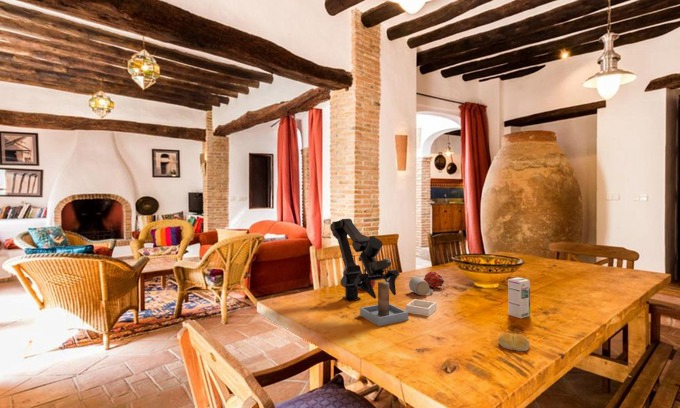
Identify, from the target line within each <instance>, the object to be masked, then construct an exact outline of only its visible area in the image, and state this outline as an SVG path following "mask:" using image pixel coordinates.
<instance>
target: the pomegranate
mask: <svg viewBox="0 0 680 408" xmlns="http://www.w3.org/2000/svg"><path fill="white" fill-rule="evenodd" d="M364 273H367V272H362V274H364ZM375 285H376V280H374V281H371V286H372V288H373V289H374V288H375ZM358 289H359V290H361V291H364V290H363V289H360V288H359V287H358Z"/></svg>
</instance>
